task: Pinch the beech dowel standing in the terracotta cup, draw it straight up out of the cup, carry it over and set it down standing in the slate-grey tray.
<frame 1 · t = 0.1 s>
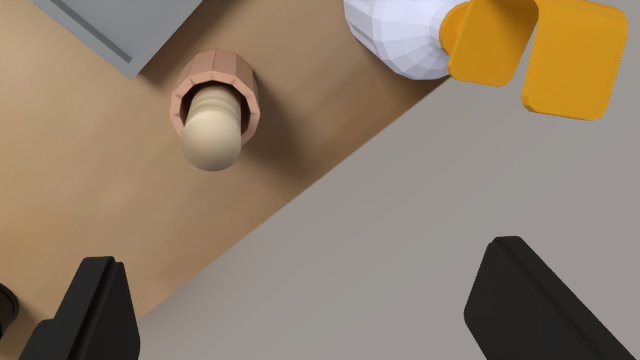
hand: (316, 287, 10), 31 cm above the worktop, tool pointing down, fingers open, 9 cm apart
cup: (219, 87, 38), on the worktop
dowel: (219, 89, 38), point 1 cm above the worktop, touching cup
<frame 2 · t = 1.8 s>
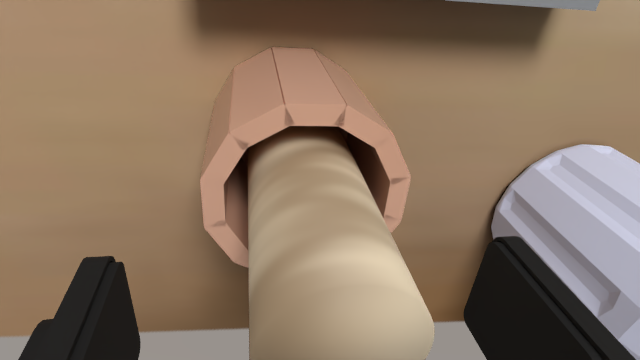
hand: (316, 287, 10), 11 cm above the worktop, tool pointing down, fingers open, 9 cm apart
soap bottle: (554, 204, 25), on the worktop
cup: (289, 121, 19), on the worktop
dowel: (290, 127, 19), point 1 cm above the worktop, touching cup
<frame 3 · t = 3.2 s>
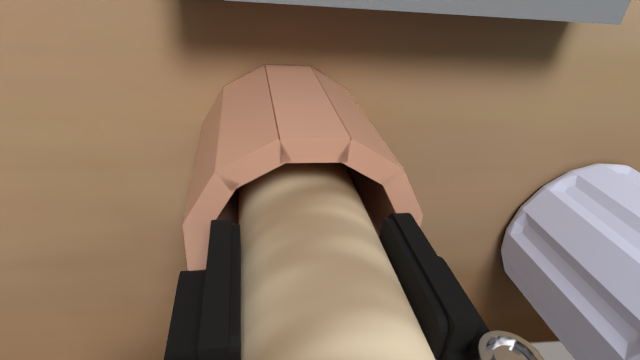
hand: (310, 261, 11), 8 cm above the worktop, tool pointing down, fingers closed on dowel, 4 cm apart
soap bottle: (567, 225, 24), on the worktop
cup: (285, 143, 18), on the worktop
dowel: (286, 151, 17), point 1 cm above the worktop, touching cup, gripper
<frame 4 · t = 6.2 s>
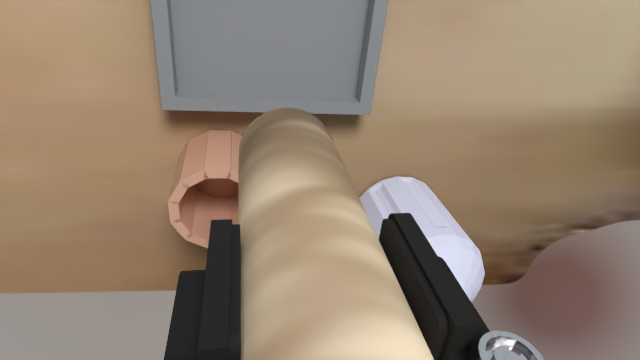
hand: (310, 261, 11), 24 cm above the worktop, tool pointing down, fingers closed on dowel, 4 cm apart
soap bottle: (391, 211, 42), on the worktop
cup: (221, 166, 35), on the worktop
dowel: (286, 152, 17), point 17 cm above the worktop, touching gripper
tray: (271, 25, 30), on the worktop
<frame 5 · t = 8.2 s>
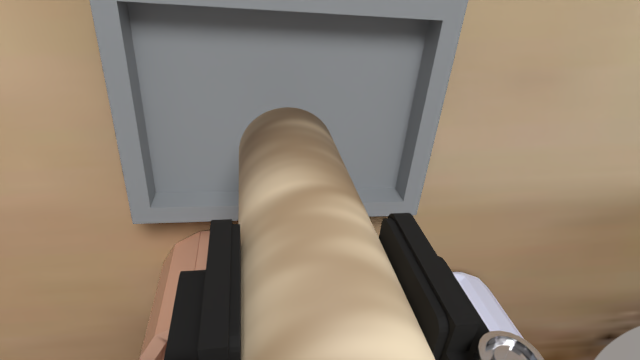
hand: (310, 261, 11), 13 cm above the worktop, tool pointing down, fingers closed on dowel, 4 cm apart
soap bottle: (433, 307, 33), on the worktop
cup: (218, 271, 27), on the worktop
dowel: (286, 152, 17), point 6 cm above the worktop, touching gripper
tray: (283, 102, 22), on the worktop
when the fingers open (9 cm above the worktop, at t = 9.5 s): dowel drops 1 cm, resting on tray.
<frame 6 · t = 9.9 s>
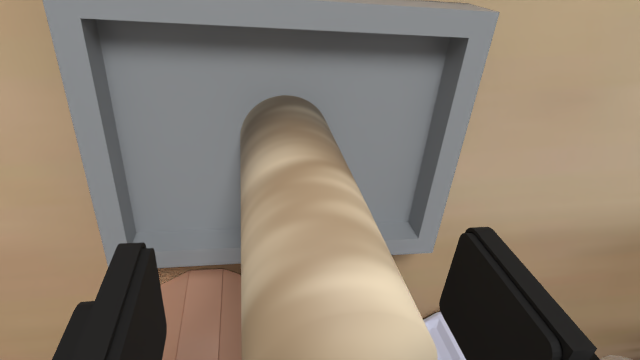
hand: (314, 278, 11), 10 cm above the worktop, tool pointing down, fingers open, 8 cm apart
soap bottle: (446, 342, 30), on the worktop
cup: (210, 312, 24), on the worktop
dowel: (285, 137, 18), point 1 cm above the worktop, touching tray
tray: (281, 129, 19), on the worktop
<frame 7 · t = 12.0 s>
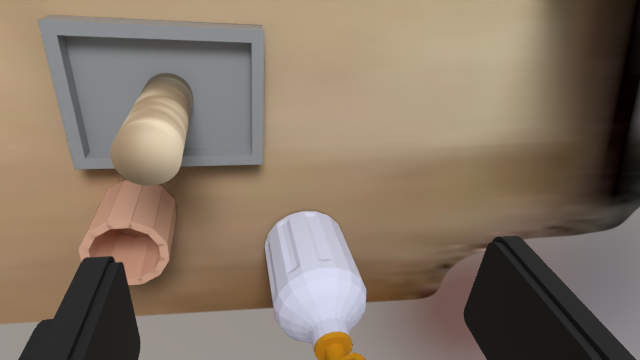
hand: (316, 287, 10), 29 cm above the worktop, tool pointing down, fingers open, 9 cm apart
soap bottle: (303, 240, 47), on the worktop
cup: (139, 209, 40), on the worktop
dowel: (168, 96, 34), point 1 cm above the worktop, touching tray
tray: (169, 93, 35), on the worktop
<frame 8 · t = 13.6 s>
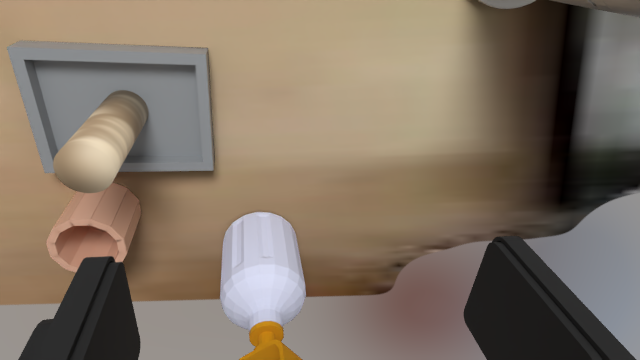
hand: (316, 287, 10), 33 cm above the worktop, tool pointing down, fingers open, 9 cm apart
soap bottle: (260, 238, 51), on the worktop
cup: (107, 207, 45), on the worktop
dowel: (126, 110, 39), point 1 cm above the worktop, touching tray
tray: (128, 106, 40), on the worktop
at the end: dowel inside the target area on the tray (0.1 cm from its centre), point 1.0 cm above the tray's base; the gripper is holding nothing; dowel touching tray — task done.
